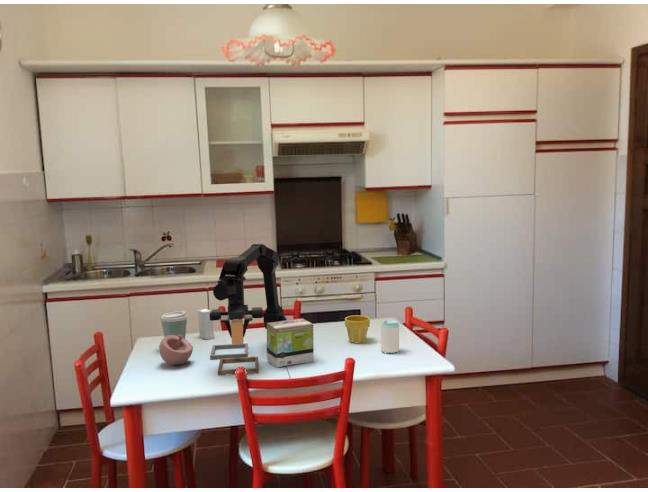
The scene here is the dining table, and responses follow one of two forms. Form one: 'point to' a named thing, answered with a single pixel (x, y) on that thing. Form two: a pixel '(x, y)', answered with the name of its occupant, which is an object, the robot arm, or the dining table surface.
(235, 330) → the plug block
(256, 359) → the frame
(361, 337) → the plant pot
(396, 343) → the can
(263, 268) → the robot arm
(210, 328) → the skincare box
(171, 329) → the disposable coffee cup
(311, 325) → the tea box
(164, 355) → the mortar and pestle
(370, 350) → the dining table surface
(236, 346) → the gray square frame
